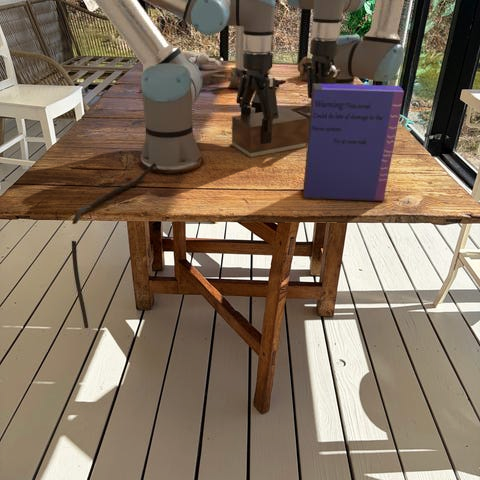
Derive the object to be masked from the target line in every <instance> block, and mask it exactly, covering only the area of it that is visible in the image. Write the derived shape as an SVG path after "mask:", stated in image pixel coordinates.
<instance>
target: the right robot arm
mask: <svg viewBox="0 0 480 480" xmlns="http://www.w3.org/2000/svg"><path fill="white" fill-rule="evenodd" d="M286 3H287V4H288V6H289V7H291V8H294V9H300V10H313V15H312V24H311V32H310V37H311V38H312V39H311V40H310V47H309V53H310V55H312V56H311V57H310V58H311V61H310V62H307V63H305V66H306V70H307V81H306V82H307V83H306V86H307V98H308V99H311V98H312V87H313V84H348V85H355V84H354V83H355V78H358V79H363V80H370V81H374V82H384V83H385V82H389V81H391V80H393V79H394V78H395V76H396V75H397V73H398V72H399V71H400V68H401V66H402V63H403V60H404V56H405V54H404V53H405V48H404V46H403V45H402V44H401V37H400V35H399V34H398V31H399V26H400V22H401V17H402V13H403V9H404V4H405V0H375V3H374V9H373V13H372V20H371V24H370V29H369V30H368V31H367V32H366V33H365V34H364V35H363V40H361V36H360V35H359V34H344V35H342V34H341V26H342V18H343V13H353V12H357V11H359V10H360V9H361V8H362V7H363V6H364V5H365V3H366V0H286ZM340 34H341V35H340Z"/></svg>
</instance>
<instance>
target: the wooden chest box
mask: <svg viewBox="0 0 480 480" xmlns="http://www.w3.org/2000/svg"><path fill="white" fill-rule="evenodd" d="M267 115H268V114H267ZM263 118H264V116H263V112H259V113H252V114H246V115H241V114H240V115H239V114H238V115H233V116H231V146H232V147H234V148H236V149H237V150H239V151H241V152H242V153H243V154H245V155H247V156H248V157H249V158H253V157H258V156H263V155H269V154H273V153H278V152H284V151H289V150H295V149H300V148H305V147H306V148H307V140H306V139H307V128H308V118H307V117H305V116H303V115H300V114H298V113H297V111H294V110H291V109H289V108H281V109H280V108H279V109H278V118H277V119H273V125H272V138H271V143H266V144H262V143H261V136H262V119H263Z"/></svg>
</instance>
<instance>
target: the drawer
mask: <svg viewBox="0 0 480 480" xmlns="http://www.w3.org/2000/svg"><path fill="white" fill-rule="evenodd" d="M296 113H298V114H300V115H303V116H305V117H307V118H308V128H307V139H306V141H308V131H309V120H310V113H307V112H306V111H305V112H304V111H303V110H296Z"/></svg>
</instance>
